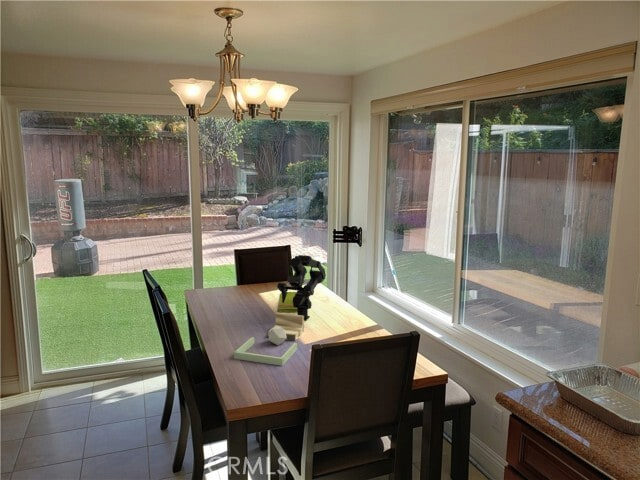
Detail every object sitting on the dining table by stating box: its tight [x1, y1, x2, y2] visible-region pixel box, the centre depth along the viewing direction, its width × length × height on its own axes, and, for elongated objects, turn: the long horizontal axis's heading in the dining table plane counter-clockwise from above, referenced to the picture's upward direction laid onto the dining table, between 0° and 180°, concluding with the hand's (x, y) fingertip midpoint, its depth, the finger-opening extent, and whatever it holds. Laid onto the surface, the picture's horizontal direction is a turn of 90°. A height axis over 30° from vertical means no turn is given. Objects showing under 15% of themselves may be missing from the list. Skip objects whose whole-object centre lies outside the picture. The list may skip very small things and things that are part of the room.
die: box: [267, 324, 287, 346], centre depth 221 cm, size 8×9×10 cm
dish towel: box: [277, 291, 297, 313], centre depth 281 cm, size 15×36×3 cm, turn 2°
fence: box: [233, 336, 298, 367], centre depth 209 cm, size 18×22×3 cm
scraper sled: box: [267, 312, 305, 342], centre depth 231 cm, size 13×14×8 cm
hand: (291, 303), depth 238 cm, fingers open, 9 cm apart
